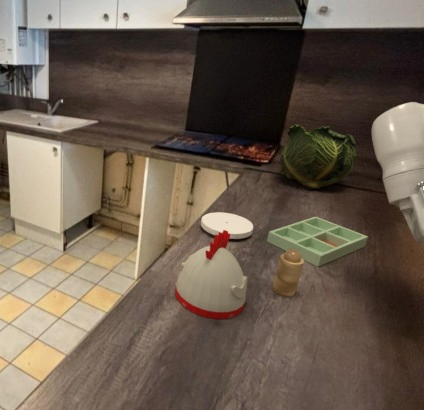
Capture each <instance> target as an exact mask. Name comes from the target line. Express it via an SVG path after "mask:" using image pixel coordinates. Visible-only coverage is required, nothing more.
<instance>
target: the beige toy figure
mask: <svg viewBox="0 0 424 410" xmlns="http://www.w3.org/2000/svg"><path fill="white" fill-rule="evenodd" d="M304 264H305V260H303V259H302V258H301V254H300V253H299V252H298V251H297V250H293V249H291V250H287V251H285V252H284V253H282V254H280V255H279V260H278V263H277V267H276V270H275V275H274V278H273V283H272V290H273V292H274V293H276V294H278V295H280V296H282V297H294V296H295V295H296V291H297V288H298V284H299V281H300V278H301V274H302V271H303V267H304Z"/></svg>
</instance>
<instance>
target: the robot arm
mask: <svg viewBox="0 0 424 410" xmlns="http://www.w3.org/2000/svg"><path fill="white" fill-rule="evenodd" d="M370 132H371V140H372V146H373V150H374V154H375V159H376V161H377V162H378V163H379V165H380V167H381V169H382V177H381V178H382V182H383V186H384V190H385V192H386V197H387V201H388V203H389V205H394V206H396V208H398V209H399V211H400V212H402V214H403V216H404V220H405V221H406V223H407V226H408V228H409V230H410V233H411V235H412V237H413V239H414V241H415V242H416V243H417V244H422V246H423V247H424V103H419V102H416V101H409V102H406V103H401V104H397V105H394V106H393V107H391V108H389V109H386V110H385V111H383V112H382V113H381V114H380V115H379V116H377V117H376V118H375V119H374V121H373V123H372V125H371V131H370Z"/></svg>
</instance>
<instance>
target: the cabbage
mask: <svg viewBox="0 0 424 410" xmlns="http://www.w3.org/2000/svg"><path fill="white" fill-rule="evenodd" d="M286 135H288V140H286V143H285V145H284V146H283V149H282V151H281V153H280V157H279V163H280V164H279V166H280V168H279V172H278V173H279V174H281V175H284V176H286V177H287V179H289V180H293V181H295V180H296V182H298V183H299V184H301V185H303V186H304V188H305V189H306V190H308V191H312V190H318V189H320V188H321V187H327V186H330V185H333V184H335V183H338V182H339V181H341V180H343V179H344V178H346V177H347V176H348V175H349V174H350V173H351V171H352V169H353V167H354V162H355V161H356V159H357V157H358V156H357V155H358V153H357V149H356V147H357V143H356V141H355V139H354V136H353V135H351V134H350V133H349V134H346V135H343V134H340V133H338V132H335V131H333V130H330V126H327V125H326V126H321V127H314V128H313V129H312V130H311V131H310V132H309V131H308V132H307V130H306V128H305V127H304V126H303V125H298V124H293V125H292V126H291V125H290V126H289V129H288V130H287V133H286Z"/></svg>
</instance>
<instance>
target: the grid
mask: <svg viewBox="0 0 424 410" xmlns="http://www.w3.org/2000/svg"><path fill="white" fill-rule="evenodd" d="M368 238H369V236H368V235H365V234H362V233H360V232H357V231H355V230H352V229H350V228H347V227H344V226H341V225H339V224H336V223H334V222H331V221H329V220H325V219H324V218H320V217H318V216H313V217H310V218H307V219H304V220H300V221H297V222H294V223H291V224H288V225H286V226H282V227H280V228H279V227H278V228H276V229H273V230H269V231H268V236H267V238H266V242H267V243H269V244H271V245H273V246H275V247H277V248H279V249H280V250H283V251H285V252H286V251H287V250H291V249H293V250H297V251H298V252H299V253H300V254H301V258H302V259H303V260H304V262H307V263H310V264H311V265H313V266H315V267H317V268H319V267H321V266H324V265H326V264H327V263H331V262H332V261H335V260H338V259H339V258H342V257H344V256H346V255H349V254H351V253H354V252H356V251H358V250H360V249H363V248H365V247H366V244H367V241H368Z"/></svg>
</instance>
